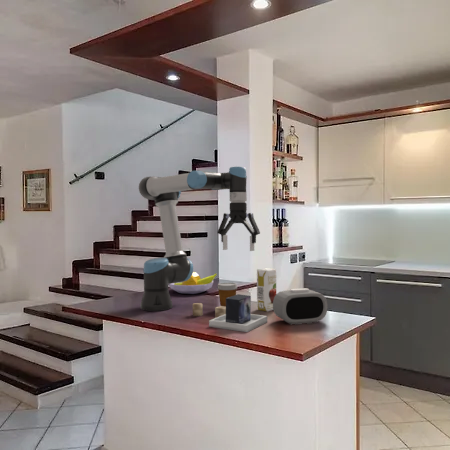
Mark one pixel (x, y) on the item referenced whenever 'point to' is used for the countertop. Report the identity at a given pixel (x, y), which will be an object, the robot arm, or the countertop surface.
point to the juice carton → (266, 288)
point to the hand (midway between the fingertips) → (238, 250)
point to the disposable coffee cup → (226, 291)
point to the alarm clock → (300, 306)
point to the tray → (245, 327)
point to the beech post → (197, 309)
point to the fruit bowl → (193, 284)
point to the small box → (238, 309)
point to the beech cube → (220, 311)
